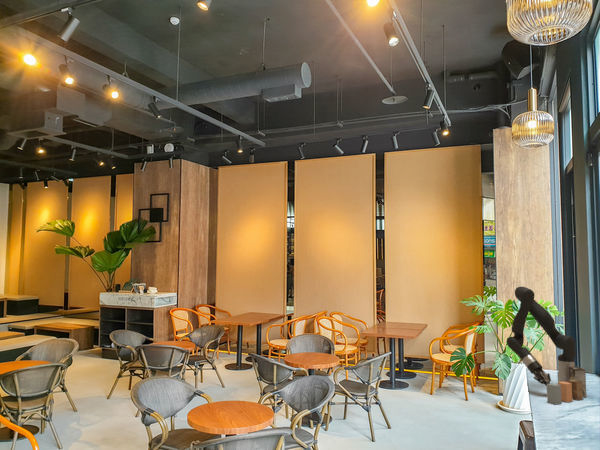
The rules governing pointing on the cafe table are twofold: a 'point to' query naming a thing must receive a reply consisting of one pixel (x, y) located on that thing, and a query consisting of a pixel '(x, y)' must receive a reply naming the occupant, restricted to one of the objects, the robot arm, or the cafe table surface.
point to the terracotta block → (566, 391)
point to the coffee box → (578, 377)
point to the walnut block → (576, 389)
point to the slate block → (554, 393)
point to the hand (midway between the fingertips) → (551, 389)
